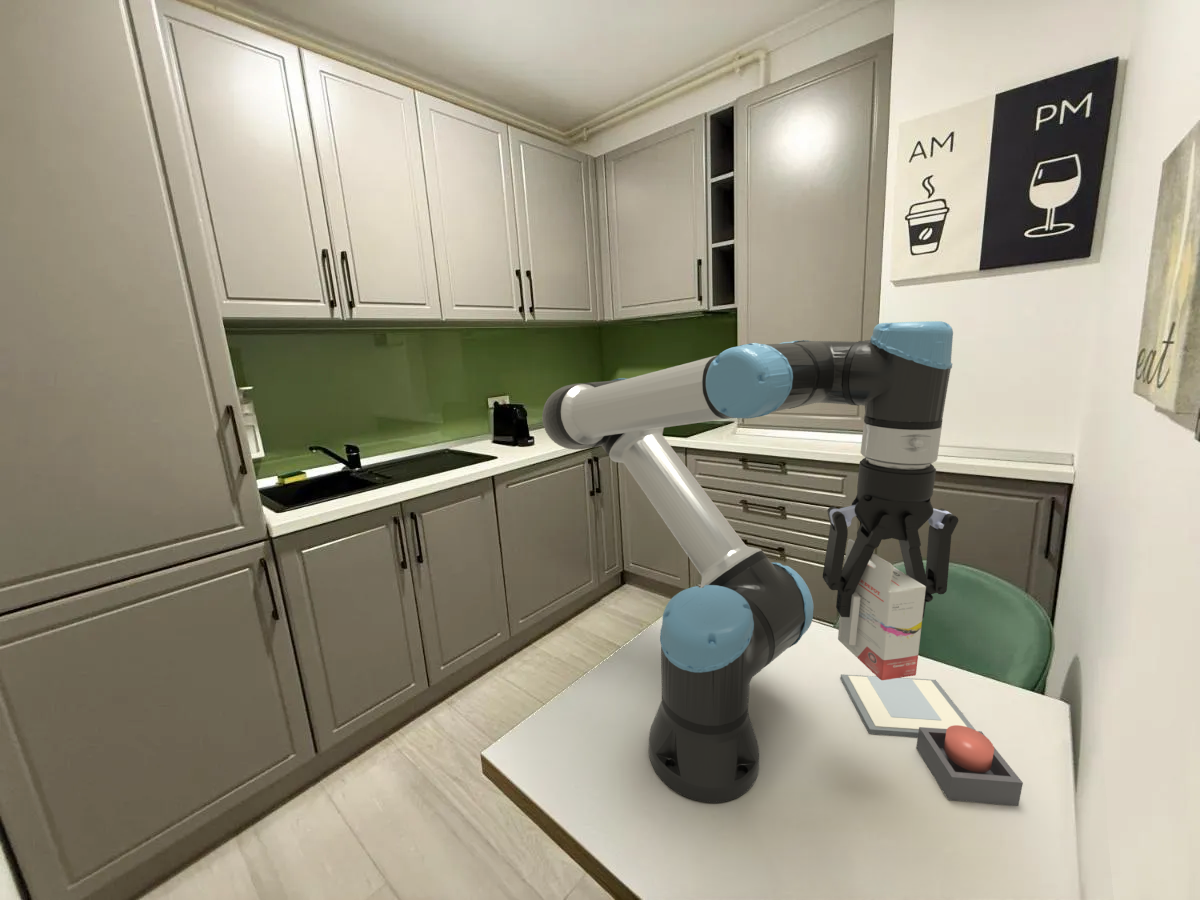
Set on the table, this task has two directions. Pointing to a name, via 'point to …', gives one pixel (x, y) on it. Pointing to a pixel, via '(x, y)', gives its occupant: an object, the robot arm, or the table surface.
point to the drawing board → (902, 705)
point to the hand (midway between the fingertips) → (875, 639)
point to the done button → (969, 748)
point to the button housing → (968, 773)
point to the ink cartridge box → (887, 619)
